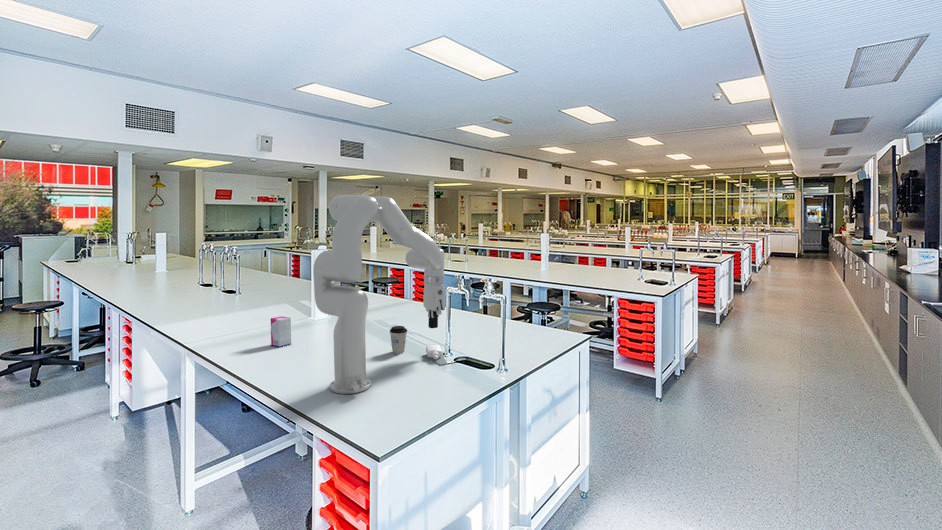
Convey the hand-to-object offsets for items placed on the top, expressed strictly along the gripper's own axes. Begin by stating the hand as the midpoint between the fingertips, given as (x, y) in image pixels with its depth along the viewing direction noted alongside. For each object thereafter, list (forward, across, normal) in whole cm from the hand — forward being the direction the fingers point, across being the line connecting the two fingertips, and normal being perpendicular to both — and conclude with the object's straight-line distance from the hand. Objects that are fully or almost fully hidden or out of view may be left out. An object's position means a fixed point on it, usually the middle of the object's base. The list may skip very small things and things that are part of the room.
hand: (433, 327), depth 177 cm
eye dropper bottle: (+8, +1, -1) cm, 9 cm away
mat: (+11, -8, -1) cm, 13 cm away
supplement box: (+12, +43, +47) cm, 65 cm away
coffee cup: (+11, +9, +10) cm, 18 cm away
